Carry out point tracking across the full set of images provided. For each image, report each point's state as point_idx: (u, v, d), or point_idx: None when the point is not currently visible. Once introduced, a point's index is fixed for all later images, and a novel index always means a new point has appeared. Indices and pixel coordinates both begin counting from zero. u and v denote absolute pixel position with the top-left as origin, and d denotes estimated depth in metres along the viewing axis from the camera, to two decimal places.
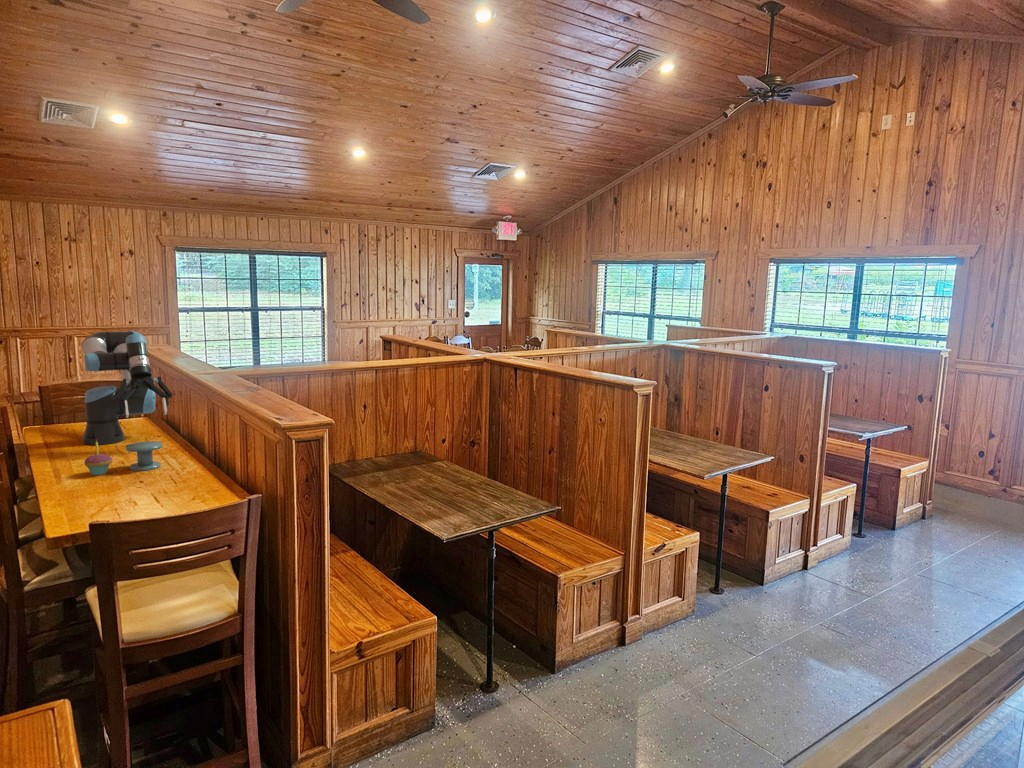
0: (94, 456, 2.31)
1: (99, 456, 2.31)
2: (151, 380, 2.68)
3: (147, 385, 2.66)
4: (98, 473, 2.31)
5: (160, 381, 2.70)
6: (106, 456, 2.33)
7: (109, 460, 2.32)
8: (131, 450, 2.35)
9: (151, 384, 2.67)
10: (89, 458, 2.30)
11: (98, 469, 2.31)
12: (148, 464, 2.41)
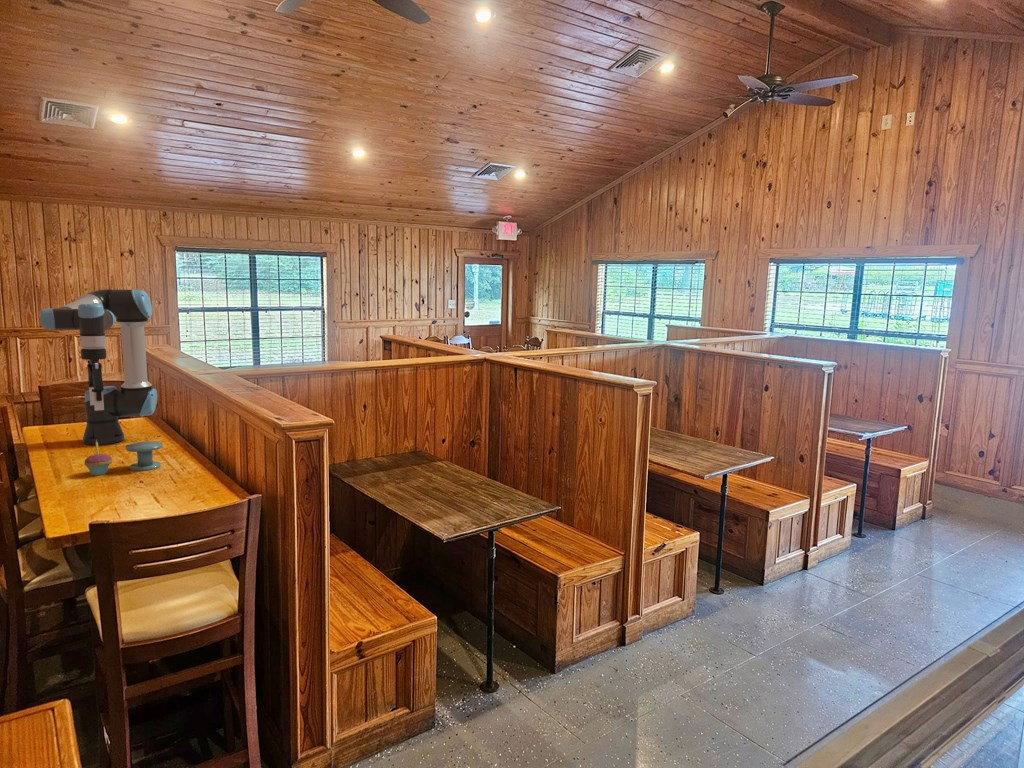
0: (94, 456, 2.31)
1: (99, 456, 2.31)
2: (92, 366, 2.26)
3: None
4: (98, 473, 2.31)
5: (92, 369, 2.24)
6: (106, 456, 2.33)
7: (109, 460, 2.32)
8: (131, 450, 2.35)
9: (90, 373, 2.26)
10: (89, 458, 2.30)
11: (98, 469, 2.31)
12: (148, 464, 2.41)
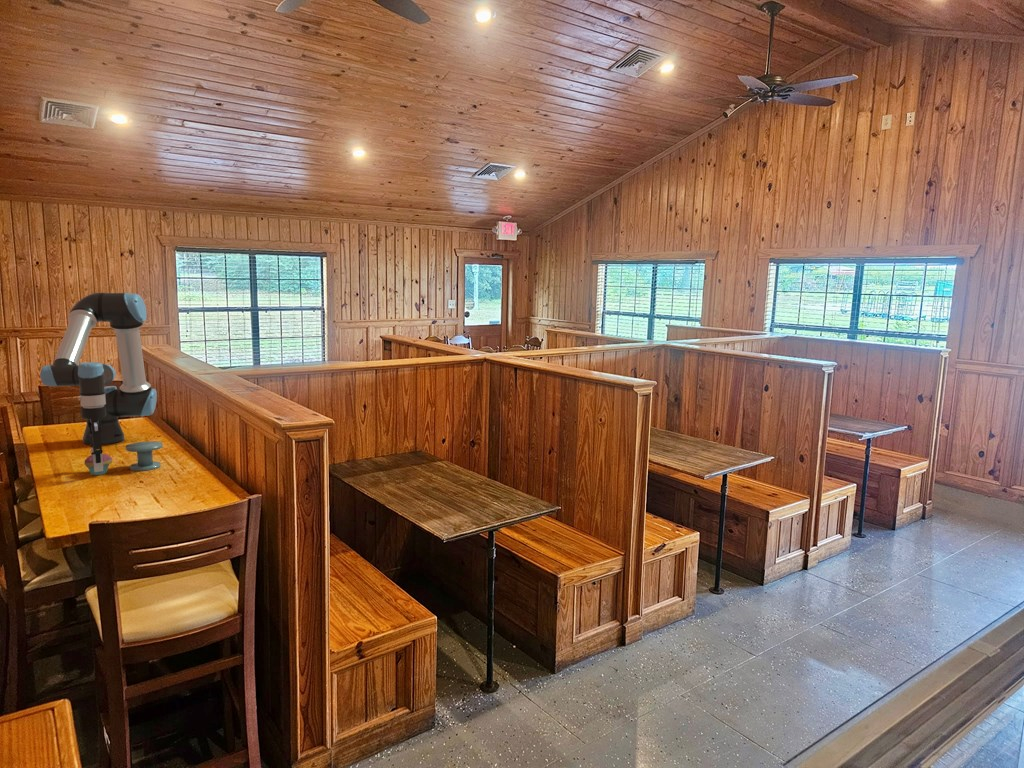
0: None
1: None
2: (91, 425, 2.28)
3: (91, 431, 2.29)
4: (98, 473, 2.31)
5: (92, 431, 2.25)
6: (106, 456, 2.33)
7: (109, 460, 2.32)
8: (131, 450, 2.35)
9: (89, 432, 2.28)
10: (89, 458, 2.30)
11: None
12: (148, 464, 2.41)
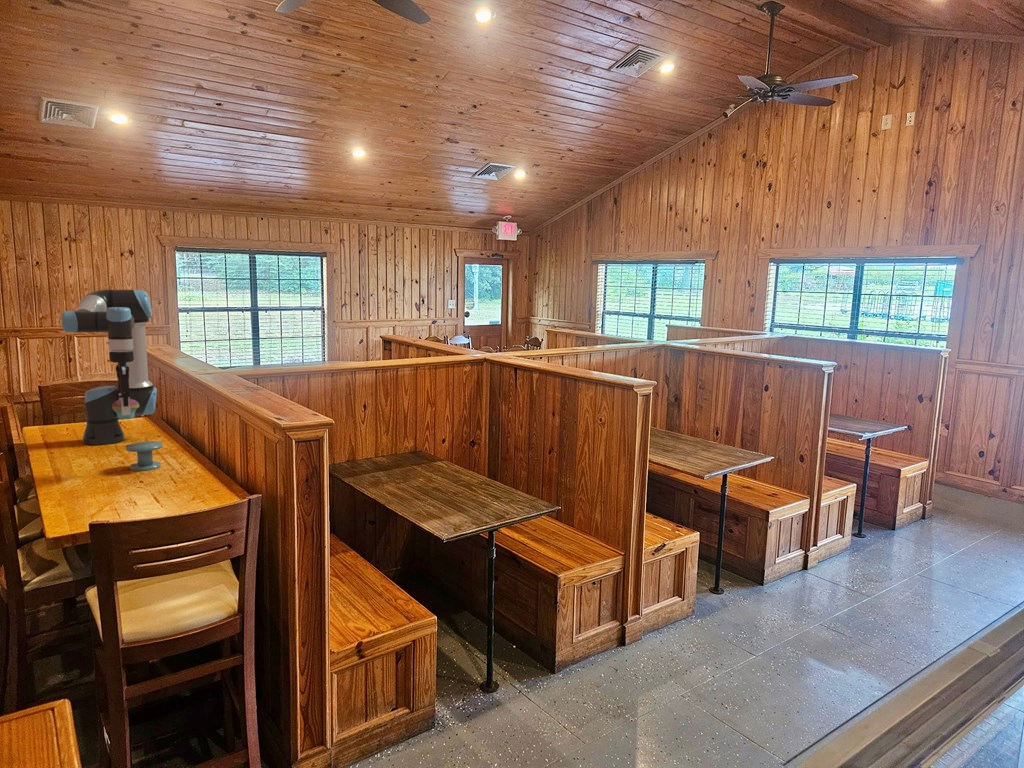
0: None
1: None
2: (119, 369, 2.30)
3: (119, 375, 2.32)
4: (125, 417, 2.34)
5: (120, 375, 2.28)
6: (133, 401, 2.35)
7: (136, 404, 2.35)
8: (131, 450, 2.35)
9: (117, 376, 2.31)
10: (116, 402, 2.33)
11: None
12: (148, 464, 2.41)
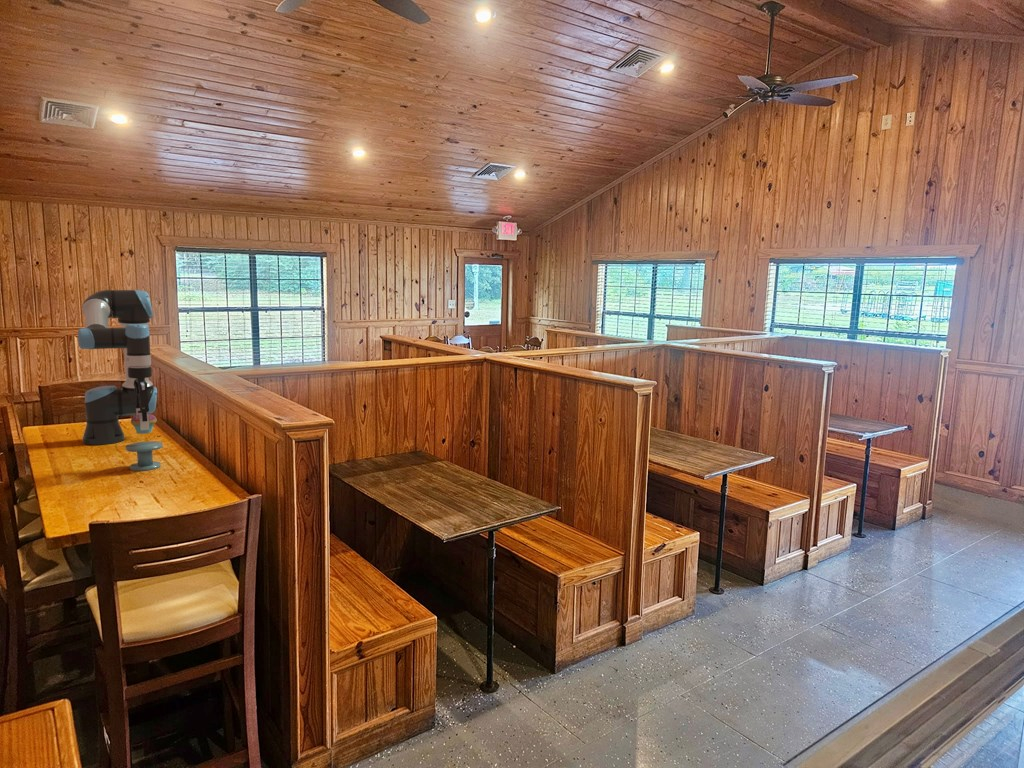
0: None
1: None
2: (138, 385, 2.34)
3: None
4: (144, 431, 2.38)
5: (139, 390, 2.32)
6: (151, 415, 2.40)
7: (154, 419, 2.39)
8: (131, 450, 2.35)
9: (136, 391, 2.35)
10: (135, 417, 2.37)
11: None
12: (148, 464, 2.41)
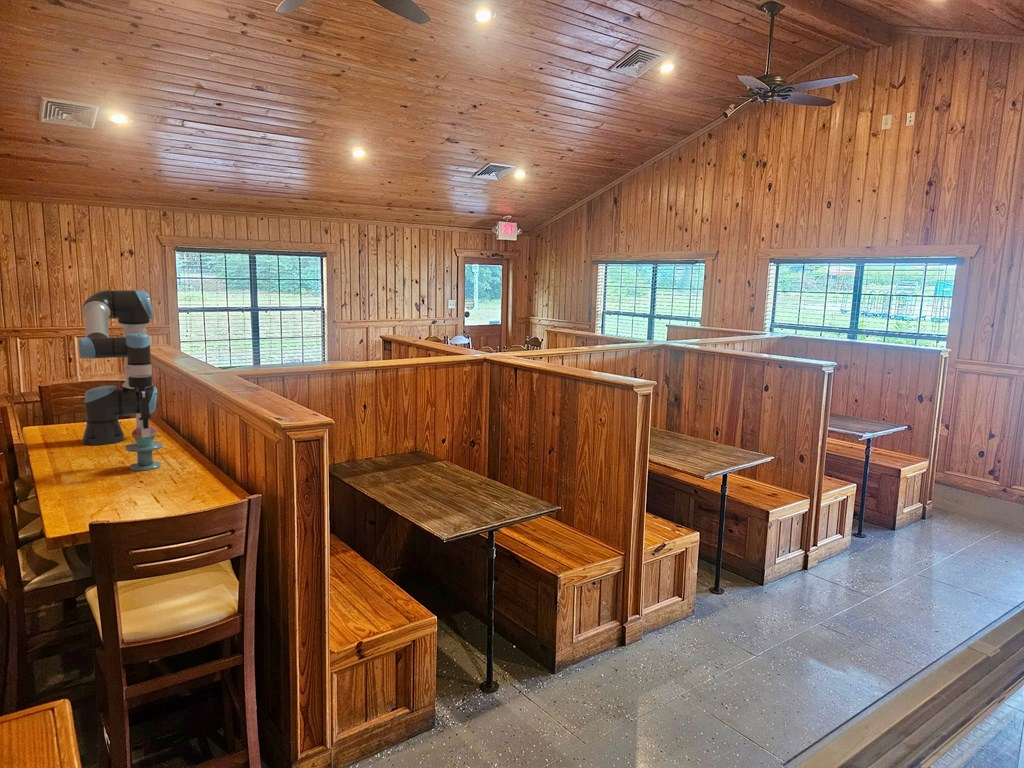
0: None
1: None
2: (139, 394, 2.35)
3: None
4: (145, 445, 2.39)
5: (140, 398, 2.32)
6: (152, 428, 2.40)
7: (155, 432, 2.40)
8: (131, 450, 2.35)
9: (137, 400, 2.35)
10: (136, 430, 2.37)
11: (145, 441, 2.38)
12: (148, 464, 2.41)
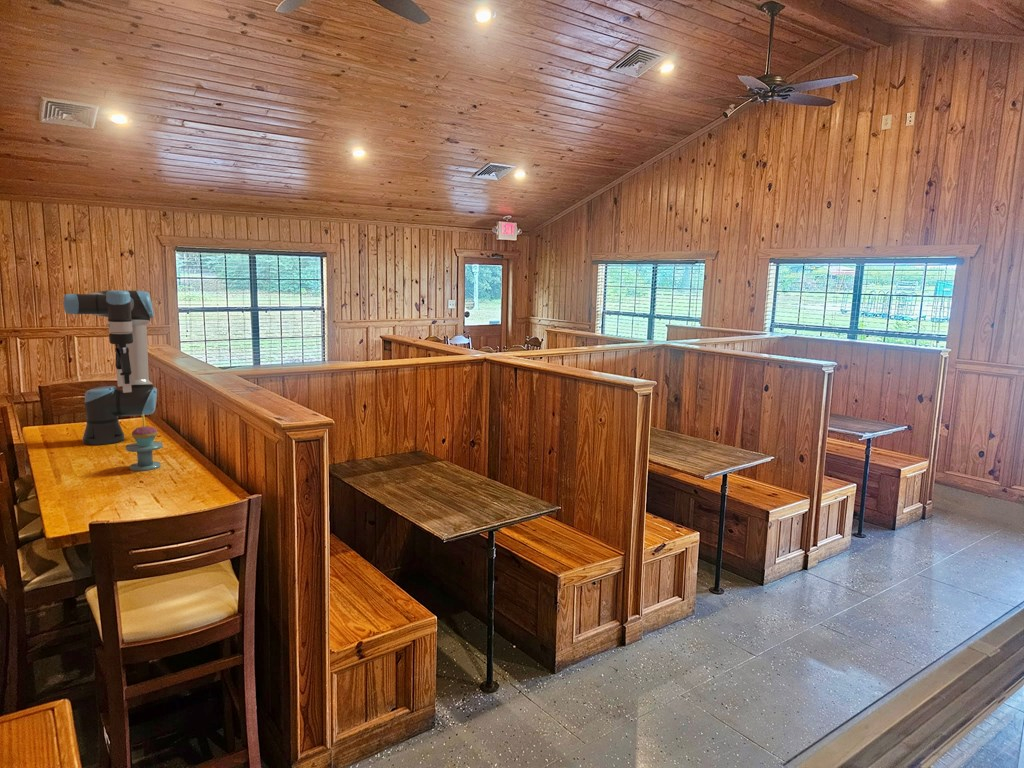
0: (141, 428, 2.38)
1: (146, 428, 2.38)
2: (119, 350, 2.38)
3: None
4: (145, 445, 2.39)
5: (121, 354, 2.35)
6: (152, 428, 2.40)
7: (155, 432, 2.40)
8: (131, 450, 2.35)
9: (118, 356, 2.38)
10: (136, 430, 2.37)
11: (145, 441, 2.38)
12: (148, 464, 2.41)
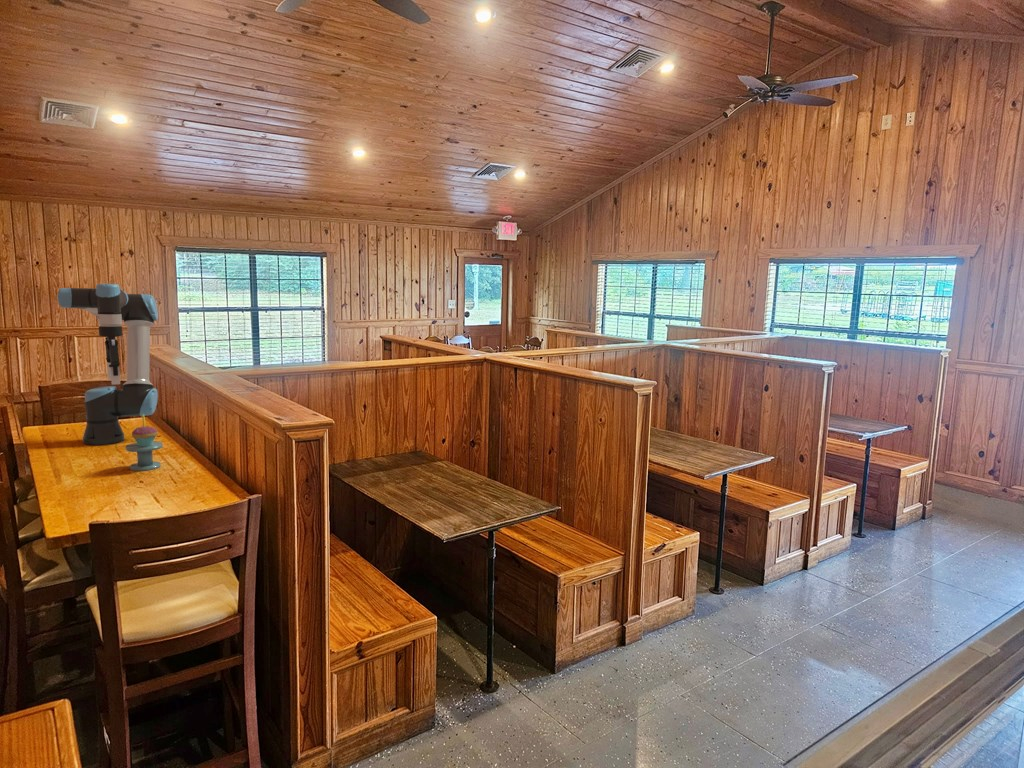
0: (141, 428, 2.38)
1: (146, 428, 2.38)
2: (109, 343, 2.40)
3: None
4: (145, 445, 2.39)
5: (109, 346, 2.38)
6: (152, 428, 2.40)
7: (155, 432, 2.40)
8: (131, 450, 2.35)
9: (107, 349, 2.40)
10: (136, 430, 2.37)
11: (145, 441, 2.38)
12: (148, 464, 2.41)
